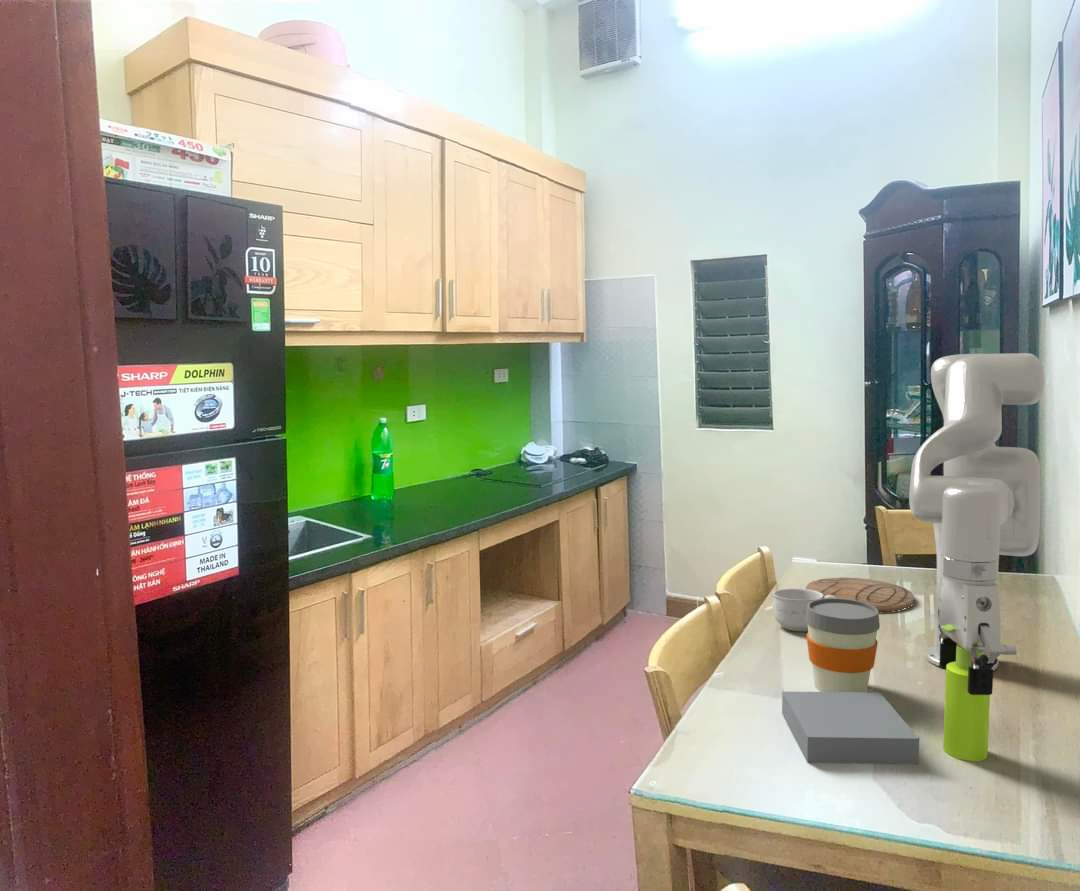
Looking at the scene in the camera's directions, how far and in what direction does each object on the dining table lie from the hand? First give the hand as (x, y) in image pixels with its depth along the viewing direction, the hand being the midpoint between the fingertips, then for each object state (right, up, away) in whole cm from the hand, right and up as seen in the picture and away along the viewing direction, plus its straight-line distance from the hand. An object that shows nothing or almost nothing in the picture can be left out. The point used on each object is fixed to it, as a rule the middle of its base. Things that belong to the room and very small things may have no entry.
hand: (964, 680), depth 116 cm
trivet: (+16, -3, +78) cm, 80 cm away
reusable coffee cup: (-9, -9, +25) cm, 28 cm away
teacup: (-5, -6, +57) cm, 57 cm away
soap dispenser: (0, -11, +1) cm, 11 cm away
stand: (-15, -11, +6) cm, 20 cm away
